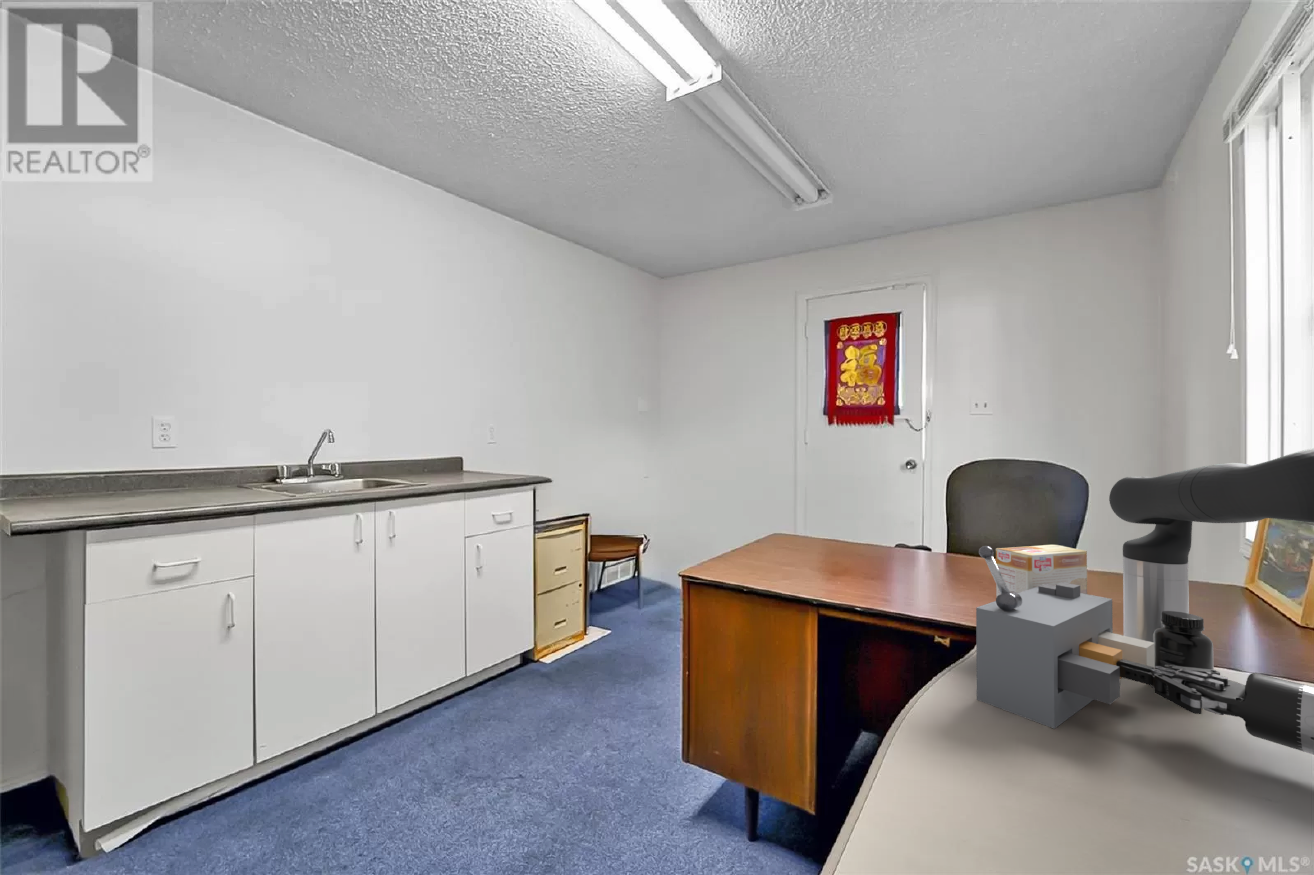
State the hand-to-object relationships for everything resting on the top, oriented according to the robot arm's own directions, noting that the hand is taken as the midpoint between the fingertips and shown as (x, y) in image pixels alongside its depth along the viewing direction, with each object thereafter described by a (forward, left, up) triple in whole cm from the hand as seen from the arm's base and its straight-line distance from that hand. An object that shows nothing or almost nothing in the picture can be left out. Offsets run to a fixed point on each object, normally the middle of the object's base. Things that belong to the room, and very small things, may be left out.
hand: (1118, 667), depth 76 cm
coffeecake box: (-21, -13, -7) cm, 26 cm away
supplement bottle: (-18, +6, -7) cm, 21 cm away
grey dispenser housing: (-1, -9, -7) cm, 11 cm away
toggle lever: (+7, -11, +7) cm, 15 cm away
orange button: (-1, -4, -2) cm, 4 cm away
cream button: (-8, -1, -2) cm, 9 cm away
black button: (+8, -4, -2) cm, 9 cm away
